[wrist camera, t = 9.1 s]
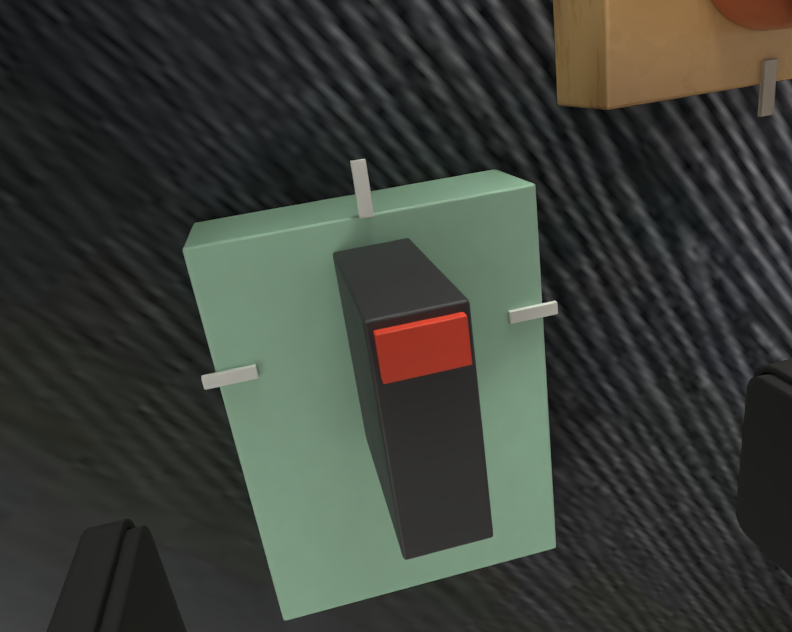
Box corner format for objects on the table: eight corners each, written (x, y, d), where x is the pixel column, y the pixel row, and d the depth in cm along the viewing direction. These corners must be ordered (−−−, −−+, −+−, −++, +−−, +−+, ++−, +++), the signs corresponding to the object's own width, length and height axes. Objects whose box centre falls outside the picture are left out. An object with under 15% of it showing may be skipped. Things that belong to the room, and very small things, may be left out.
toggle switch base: (530, 491, 24) (569, 549, 21) (270, 558, 22) (272, 629, 19) (503, 120, 19) (549, 127, 16) (166, 176, 17) (148, 196, 14)
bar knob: (434, 422, 18) (498, 545, 13) (366, 438, 18) (406, 570, 13) (409, 236, 16) (474, 303, 11) (331, 251, 16) (364, 326, 11)
